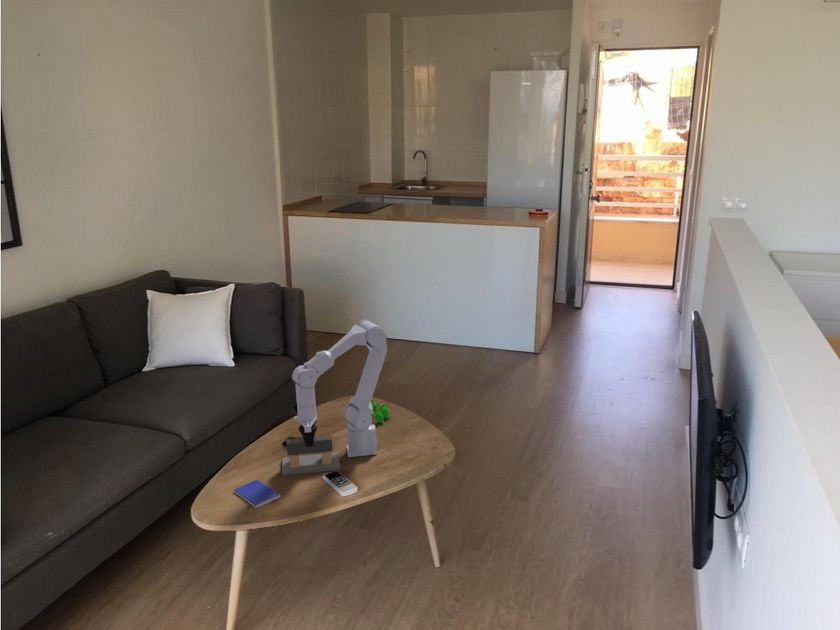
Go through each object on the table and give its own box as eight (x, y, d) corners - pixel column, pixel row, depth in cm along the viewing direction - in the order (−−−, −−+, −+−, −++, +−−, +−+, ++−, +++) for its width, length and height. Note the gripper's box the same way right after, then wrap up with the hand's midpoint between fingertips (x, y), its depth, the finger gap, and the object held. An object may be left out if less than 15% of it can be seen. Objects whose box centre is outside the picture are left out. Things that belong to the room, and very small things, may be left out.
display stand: (338, 454, 218) (337, 440, 217) (340, 469, 209) (339, 455, 207) (282, 460, 215) (281, 446, 214) (282, 476, 206) (280, 461, 204)
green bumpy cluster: (343, 417, 246) (342, 400, 244) (376, 406, 255) (375, 390, 253) (366, 431, 235) (365, 413, 233) (400, 419, 244) (399, 401, 242)
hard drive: (280, 493, 194) (258, 478, 203) (256, 504, 189) (233, 489, 197) (280, 498, 195) (258, 483, 203) (256, 509, 189) (234, 493, 198)
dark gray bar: (331, 446, 213) (331, 435, 212) (332, 450, 210) (331, 439, 209) (287, 451, 211) (286, 439, 210) (287, 455, 208) (286, 444, 207)
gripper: (293, 395, 212) (296, 434, 216) (293, 414, 199) (296, 455, 202) (315, 393, 213) (318, 432, 217) (316, 412, 200) (319, 452, 204)
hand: (309, 443), depth 210 cm, fingers open, 4 cm apart
